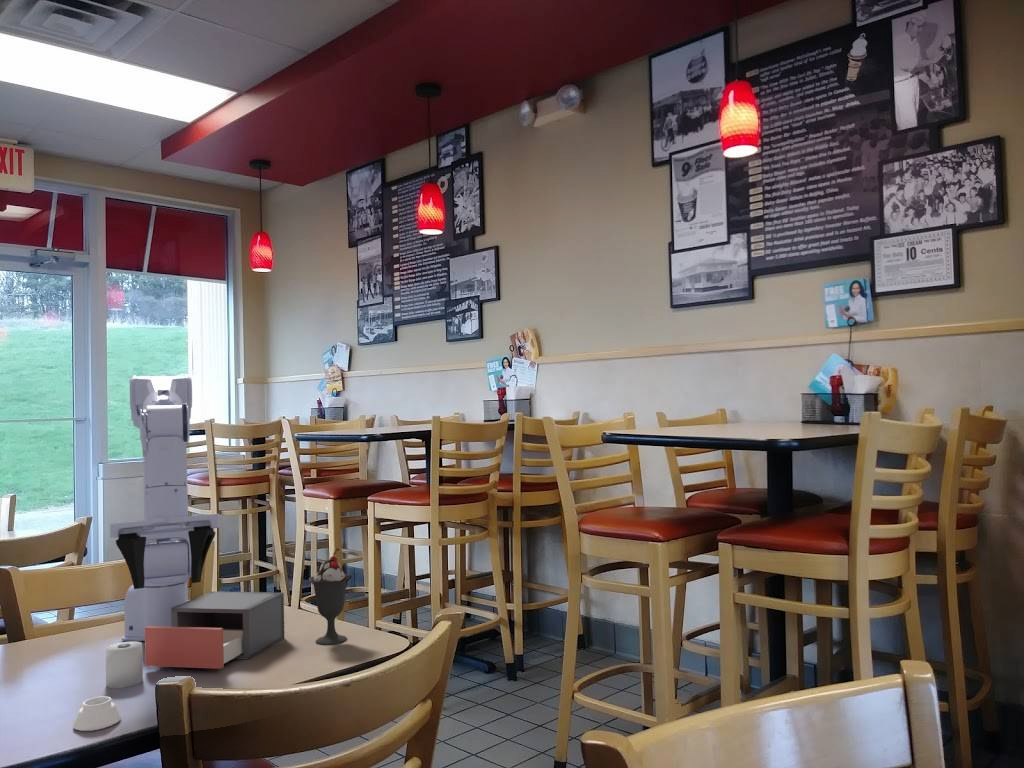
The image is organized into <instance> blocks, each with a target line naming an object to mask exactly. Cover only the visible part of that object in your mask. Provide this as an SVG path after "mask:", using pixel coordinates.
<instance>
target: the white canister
mask: <svg viewBox="0 0 1024 768" xmlns="http://www.w3.org/2000/svg"><path fill="white" fill-rule="evenodd" d="M143 670H144V669H143V643H142V641H123V642H117V643H114V644H111V645H108V646H107V647H105V687H106V688H108V689H123V688H127V687H133V686H135V685H136V686H137V685H138V684H140V683H142V682H143V680H144V679H143V677H144V674H143V673H144V672H143Z"/></svg>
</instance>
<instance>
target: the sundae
mask: <svg viewBox="0 0 1024 768" xmlns="http://www.w3.org/2000/svg"><path fill="white" fill-rule="evenodd" d="M339 551H340V548H339V547H336V549H335V550H334V552H333V555H332V556H330V557H329V559H327V560H325V561H324V562H319V563H318V566H317V573H316V574H315V575H314V576H310V577H309V578H308V581H309V583H310V584H312V585H313V589H314V594H315V595H314V596H315V600H316V601H315V602H316V607H317V611H318V614H320V616H321V617H323V618H324V619H326V621H327V626H326V627H327V630H326V633H325V634H324V636H321V637H318V638H317V639H316V640H315V643H316V644H317V645H322V646H332V645H337V644H338V643H339V644H342V643H344V642H346V641H347V640H348V637H347V636H345V635H342V634H339V633H338V632H337V631H336V627H335V626H336V625H335V621H336V618H337V617H339V616H340V615H341V613H342V612H343V610H344V608H345V607H344V606H345V601H346V590H347V585H348V582H349V581H350V580H351V579H352V575H351V574H345V572H344V570H343V568H342V566H341V564H340V562H338V557H337V556H336V554H337V552H339Z"/></svg>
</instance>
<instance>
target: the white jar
mask: <svg viewBox="0 0 1024 768" xmlns="http://www.w3.org/2000/svg"><path fill="white" fill-rule="evenodd" d="M112 700H113V699H112V698H111V697H110V696H107V695H106V696H104V695H103V696H102V695H101V696H96V697H92V698H88V699H86V700H84V701H83V702H82V705H81V706H82V707H81V708H80V709H79V710H78V712H77V714H76V716H75V718H74V720H73V729H74V730H77V731H81V732H95V731H94V730H96V731H99V730H100V729H101V730H104V729H107V728H110V727H112V726H114V725H115V724H117V723H118V722H119V721H121V719H122V716H121V713H120V711H119V708H117V706H116V703H114V702H112ZM113 724H114V725H113ZM109 726H110V727H109ZM106 727H107V728H106Z"/></svg>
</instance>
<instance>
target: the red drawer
mask: <svg viewBox="0 0 1024 768" xmlns="http://www.w3.org/2000/svg"><path fill="white" fill-rule="evenodd" d="M144 647H145V648H144V657H145V658H144V662H145V663H144V666H145V667H164V668H191V669H195V668H196V669H218V670H219V669H220V670H221V669H222V668H224V666H225V665H224V664H226V663H228V662H229V661H231V660H234V659H233V658H235V657H236V656H238V655H240V654H242V653H243V630H236V629H223V628H203V627H164V626H147V627H145V641H144Z"/></svg>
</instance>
